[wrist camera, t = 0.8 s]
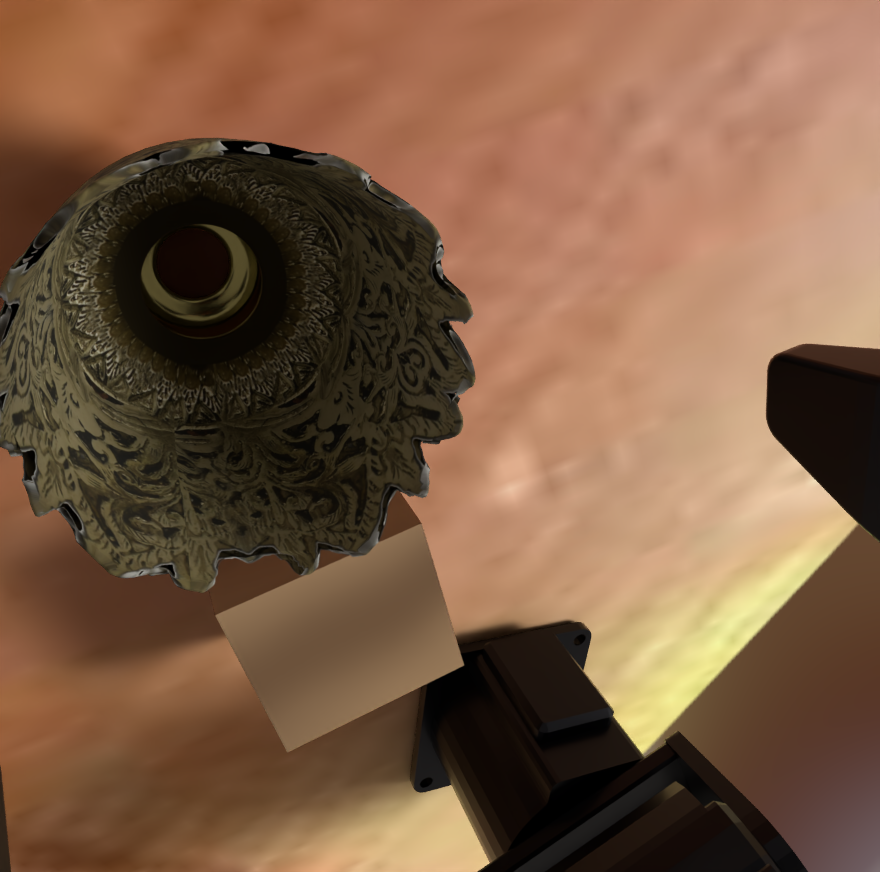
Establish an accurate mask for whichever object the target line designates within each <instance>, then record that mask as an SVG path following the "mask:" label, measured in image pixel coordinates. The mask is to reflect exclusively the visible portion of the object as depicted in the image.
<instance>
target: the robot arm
mask: <svg viewBox="0 0 880 872" xmlns="http://www.w3.org/2000/svg"><path fill="white" fill-rule="evenodd" d="M766 420H767V424H768V427H769V429H770V431H771V433H772V434H773V436H774V437H775V438H776V439H777V440H778V441H779V442H780V443H781V444H782V446H783V447H784V448H785V449H786V450H787V451H788V452H789V453H790V454H791V455H792V456H793V457H794V458H795V459H796V460H797V461H798V462H799V463H800V464H801V465H802V466H803V467H804V468H805V469H806V470H807V471H808V472H809V473H810V475H811V476H812V477H813V478H814V479H815V480H816V481H817V482H818V483H819V484H820V485H821V486H822V487H823V488H824V489H825V490H826V491H827V492H828V493H829V494H830V495H831V496H832V497H833V498H834V499H835V500H836V501H837V502H838V504H839V505H840V506H841V507H842V508H843V509H844V510H845V511H846V512H847V513H848V514H849V515H850V516H851V517H852V518H853V519H854V520H855V521H856V522H857V523H858V524H859V525H861V526H862V527H863V528H864V529H865V530H866V531H867V532H869V534H871V535H872V536H873V537H874V538H875V539H876V540H877V541H878V542H880V349H872V348H859V347H845V346H832V345H819V344H802V345H798V346H796V347H793V348H791V349H788V350H786V351H783V352H781V353H778V354H776V355H775V356H774V357H773V358H772V359H771V360H770V362H769V365H768V370H767V399H766ZM590 640H591V632H590V630H589V629H588V628H587V627H586V626H585V625H584V624H583V623H581V622H575V623H570V624H565V625H560V626H555V627H550V628H545V629H540V630H535V631H529V632H524V633H519V634H514V635H509V636H504V637H499V638H494V639H489V640H484V641H479V642H473V643H468V644H463V645H458V647H459V650H460V653H461V657H462V660H463V663H464V666H462V667H460V668H458V669H456V670H454V671H452V672H450V673H448V674H446V675H444V676H442V677H440V678H438V679H436V680H434V681H431V682H429V683H427V684H425V685H423V686H422V687H421V695H420V703H419V710H418V718H417V726H416V734H415V742H414V750H413V758H412V766H411V774H410V781H411V783H412V785H413V787H414V789H415V790H416V791H417V792H420V793H421V792H427V791H431V790H434V789H438V788H442V787H445V786H449V785H452V787H453V789H454V791H455V793H456V795H457V797H458V799H459V801H460V803H461V805H462V807H463V809H464V811H465V813H466V815H467V817H468V819H469V821H470V823H471V825H472V827H473V829H474V831H475V833H476V835H477V838H478V840H479V842H480V844H481V846H482V848H483V850H484V852H485V854H486V856H487V858H488V860H489V862H490V863H489V864H488V865H487V866H485V867H484V868H482V869H481V870H479V871H478V872H808V871H807V870H806V868H805V867H804V865H803V864H802V863H801V861H800V860H799V858H798V857H797V856H796V854H795V853H794V852H793V850H792V849H791V848H790V846H789V845H788V844H787V843H786V841H785V840H784V839H783V838H782V836H781V835H780V834H779V833H778V832H777V830H776V829H775V828H774V827H773V826H772V824H771V823H770V822H769V821H768V820H767V819H766V818H765V817H764V816H763V815H762V814H761V812H760V811H759V810H758V809H757V808H755V806H754V805H753V804H752V803H751V802H750V801H749V800H748V799H747V798H746V797H745V796H744V795H743V794H742V793H740V791H738V789H736V788H735V786H733V784H732V783H730V782H729V781H728V780H727V779H726V778H725V777H724V776H723V775H722V774H721V773H720V772H719V771H718V770H717V769H716V768H715V767H714V766H713V765H712V764H711V763H710V762H709V761H708V760H707V759H706V758H705V757H704V756H703V755H702V754H701V753H700V752H699V751H698V750H697V749H696V748H695V747H694V746H693V745H692V744H691V743H690V742H689V741H688V740H687V739H686V738H685V737H684V736H683V735H682V734H681V733H680V732H679V731H677V732H675V733H674V734H672V735H671V736H669V737H668V738H666V739H665V740H664V742H665V744H663V745H662V746H660V747H659V748H657V749H656V750H654V751H653V752H651V753H650V754H649V755H647V756H646V757H644V755H643V754H642V753H641V752H640V750H639V749H638V748H637V746H636V745H635V744H634V742H633V741H632V740H631V739H630V737H629V736H628V735H627V733H626V732H625V731H624V729H623V728H622V727H621V726H620V724H619V723H618V722H617V720H616V719H615V718H614V716H613V713H614V711H613V709H612V707H611V706H610V704H609V703H608V702H607V701H606V699H605V698H604V697H603V695H602V694H601V693H600V692H599V690H598V689H597V688H596V686H595V685H594V684H593V683H592V681H591V680H590V679H589V677H588V676H587V675H586V674H585V672H584V671H583V670H584V666H585V661H586V657H587V653H588V649H589V645H590ZM0 872H11V866H10V855H9V845H8V835H7V824H6V814H5V804H4V793H3V783H2V773H1V767H0Z"/></svg>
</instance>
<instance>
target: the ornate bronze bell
mask: <svg viewBox="0 0 880 872" xmlns="http://www.w3.org/2000/svg"><path fill="white" fill-rule="evenodd" d="M370 178H371V175H369V174H368V173H367V172H365V171H364V170H363V169H361V168H360V167H358V166H357V165H355V164H353V163H351V162H349V161H347V160H344V159H342V158H340V157H337V156H334V155H331V154H327V153H311V152H307V151H302V150H299V149H295V148H290V147H285V146H280V145H276V144H272V143H266V142H257V141H248V140H237V139H225V138H196V139H186V140H179V141H173V142H167V143H163V144H160V145H156V146H152V147H149V148H145V149H143V150H140V151H138V152H135V153H133V154H131V155H128V156H126V157H124V158H122V159H120V160H118V161H117V162H115V163H113V164H111V165H109V166H108V167H106V168H104V169H103V170H101V171H100V172H99V173H97V174H96V175H95V176H93V177H92V178H90V179H89V180H88V181H86V182H85V183H84V184H83V185H82V186H81V187H80V188H79V189H78V190H77V191H76V192H75V193H74V194H72V195H71V196H70V197H69V198H68V199H67V200H66V201H65V202H64V204H63V205H62V206H61V207H60V208H59V210H58V211H57V212H56V213H55V214H54V216H53V217H52V218H51V219H50V220H49V221H48V222H47V223H46V224H45V225H44V227H43V228H42V230H41V231H40V232H39V234H38V235H37V236H36V237H35V239H34V240H33V241H32V243H31V244H30V246H29V247H28V249H27V250H26V251H25V253H24V254H23V255H22V256H21V257H19V259H18V260H17V261H16V262H15V263H14V264H13V266H11V268H10V269H9V271H8V272H7V274H6V276H5V278H4V280H3V283H2V285H1V287H0V298H3V300H4V305H3V307H2V310H1V312H0V447H2V448H4V449H7V450H8V452H9V454H10V456H11V457H12V456H21V455H22V457H23V468H24V476H23V479H22V481H23V483H24V486H25V488H26V491H27V494H28V497H29V500H30V504H31V507H32V510H33V512H34V514H35V516H37V517H40V516H42V515H45V514H47V513H49V512H50V511H52V510H58V511H59V512H60V513H61V514H62V516H63V517H64V518H65V519H66V520H67V522H68V523H69V524H70V526H71V528H72V529H73V531H74V535H75V538H76V541H77V542H78V543H79V544H80V545H81V546H82V547H83V548H84V549H85V550H86V551H87V552H88V553H89V554H90V555H91V556H92V557H93V558H94V559H95V560H96V561H97V562H98V563H99V564H100V565H101V566H102V567H103V568H105V570H106V571H107V572H108V573H110V574H111V575H114V576H116V577H119V578H134V577H138V576H143V575H150V576H154V575H160V574H168V573H169V574H170V576H171V578H172V580H173V581H174V583H175V584H176V586H177V587H180V588H182V589H185V590H189V591H195V592H200V593H203V592H206V591H208V590H209V589H210V588H211V587H212V586H213V585H214V584H215V577H216V576H217V575H218V566H219V563H220V562H221V561H222V560H223V559H233V558H236V559H239V560H242V561H244V562H246V563H253V562H255V561H257V560H259V559H260V558H262V557H263V556H270V555H273V554H274V555H276V556H277V557H278V558H279V559H280V560H285V561H286V562H287V563H288V564H289V565H290V567H291V568H292V570H293V571H294V572H295V573H297V574H298V575H310V574H311V573H313V572H314V571H315V570H316V568H317V567H318V565H319V561H320V555H321V552H320V551H321V550H325V551H326V550H327V551H331V552H334V553H338V554H345V555H350V556H352V557H358V556H364V555H367V554H368V553H369V552H370V551H371V550H372V549H373V547H374V546H375V545H376V544H377V543H378V542H379V541H380V538H381V536H382V533H383V530H384V528H385V525H386V521H387V516H388V515H387V514H388V506H389V503H390V501H391V499H392V498H393V497H394V495H395V493H396V491H400V492H403V493H405V494H407V495H408V496H414V495H416V496H418V497H421V498H423V497H426V496H427V494H428V490H429V472H430V468H429V466H428V464H427V463H426V462H425V459H424V456H423V451H422V449H421V446H420V445H421V442H422V441H423V443H428V444H439V443H440V441H441V440H445V439H449V438H453V437H455V436H457V435H458V434H459V433H460V432H461V430H462V427H463V416H462V414H461V412H460V410H459V407H458V405H457V404H458V402H459V400H460V398H459V397H458V395H460V394H462V393H464V392H465V391H466V390H467V389H469V388H470V387H472V386H473V385H474V382H475V371H474V367H473V363H472V360H471V358H470V356H469V354H468V352H467V350H466V348H465V346H464V344H463V342H462V341H461V339H460V338H459V336H458V335H457V334H456V333H455V331H454V330H453V328H452V325H450V323H449V321H459V322H463V323H464V324H465V323H467V322H468V320H469V319H470V318H471V317H473V312H472V308H471V305H470V303H469V301H468V299H467V297H466V295H465V294H464V293H462V292H461V291H460V290H459V289H458V288H457V287H456V286H454V285H453V284H452V283H451V282H450V281H449V280H448V279H447V278H446V276H445V275H444V274H443V269H442V267H441V258H442V257H443V254H444V249H443V244H442V241H441V237H440V235H439V233H438V231H437V229H436V228H435V226H434V225H433V224H432V223H431V222H430V221H429V220H428V219H427V218H426V217H425V216H423V215H422V214H421V213H420V212H419V211H418V210H416V209H415V208H414V207H413V206H411V205H410V204H409V203H407V202H406V201H404V200H403V199H401V198H400V197H398V196H396V195H395V194H393V193H391V192H390V191H388V190H387V189H385V188H383V187H382V186H381V185H379V184H378V183H376V182H375V181H373V180H371V179H370ZM185 229H199V230H203V231H206V232H208V233H210V234H212V235H213V236H215V237H216V238H217V239H218V240H219V241H220V242H221V243H222V244H223V246H224V247H225V249H226V251H227V254H228V258H229V271H228V275H227V278H226V280H225V281H224V283H223V284H222V286H221V287H220V288H219V289H218V290H216V291H215V292H213V293H212V294H210V295H207V296H204V297H200V298H189V297H184V296H181V295H179V294H176V293H175V292H173V291H172V290H170V289H169V288H168V287H167V286H166V285H165V284H164V282H163V281H162V279H161V277H160V275H159V272H158V268H157V256H158V252H159V250H160V248H161V246H162V244H163V243H164V241H165V240H166V239H167V238H168V237H170V236H171V235H172V234H174V233H176V232H178V231H181V230H185ZM455 393H456V395H455ZM220 559H222V560H220ZM219 560H220V561H219ZM218 561H219V562H218ZM217 563H218V564H217ZM216 565H217V566H216Z"/></svg>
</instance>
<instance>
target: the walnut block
mask: <svg viewBox="0 0 880 872" xmlns="http://www.w3.org/2000/svg"><path fill="white" fill-rule="evenodd" d="M387 515H388V516H387V521H386V525H385V528H384V530H383V533H382V536H381V538H380V541H379V542H378V543H377V544H376V545H375V546H374V547H373V549H372V550H371V551H370V552H369V553H368V554H367V555H364V556H358V557H352V556H350V555H345V554H338V553H334V552H331V551H327V550H326V551H325V550H321V551H320V552H321V555H320V561H319V565H318V567H317V568H316V570H315V571H314V572H313V573H311V574H310V575H298V574H297V573H295V572H294V571H293V570H292V568H291V567H290V565H289V564H288V563H287V562H286V561H285V560H280V559H279V558H278V557H277V556H276V555H274V554H273V555H270V556H263V557H262V558H260V559H259V560H257V561H255V562H253V563H246V562H244V561H242V560H239V559H236V558H233V559H223V560H222V559H220V560H222V561H221V562H220V563H219V566H218V575H217V576H216V577H215V584H214V585H213V586H212V587H211V588H210V589H209V593H210V597H211V601H212V605H213V609H214V613H215V616H216V618H217V620H218V622H219V624H220V626H221V628H222V630H223V631H224V633H225V635H226V637H227V639H228V641H229V643H230V645H231V647H232V649H233V650H234V652H235V654H236V656H237V658H238V660H239V662H240V664H241V666H242V667H243V669H244V671H245V673H246V675H247V677H248V679H249V681H250V683H251V685H252V686H253V688H254V690H255V692H256V694H257V696H258V698H259V700H260V702H261V703H262V705H263V707H264V709H265V711H266V713H267V715H268V717H269V719H270V721H271V722H272V724H273V726H274V728H275V730H276V732H277V734H278V736H279V738H280V739H281V741H282V743H283V745H284V747H285V749H286V751H287V753H288V752H290V751H292V750H294V749H296V748H298V747H300V746H302V745H304V744H306V743H308V742H310V741H312V740H314V739H316V738H318V737H320V736H322V735H324V734H326V733H328V732H330V731H332V730H334V729H336V728H338V727H340V726H342V725H344V724H346V723H348V722H350V721H353V720H355V719H357V718H359V717H361V716H363V715H365V714H367V713H369V712H371V711H373V710H375V709H377V708H379V707H381V706H383V705H385V704H387V703H389V702H391V701H393V700H395V699H397V698H399V697H401V696H403V695H405V694H407V693H409V692H411V691H413V690H415V689H417V688H419V687H421V686H423V685H425V684H427V683H429V682H431V681H434V680H436V679H438V678H440V677H442V676H444V675H446V674H448V673H450V672H452V671H454V670H456V669H458V668H460V667H462V666H464V663H463V660H462V657H461V653H460V650H459V647H458V643H457V640H456V637H455V633H454V630H453V627H452V623H451V620H450V617H449V613H448V610H447V607H446V603H445V600H444V597H443V593H442V590H441V587H440V583H439V580H438V577H437V573H436V570H435V567H434V563H433V560H432V557H431V553H430V550H429V547H428V543H427V540H426V537H425V533H424V530H423V527H422V523H421V522H420V520H419V519H418V517H417V516H416V515H415V513H414V512H413V510H412V509H411V507H410V506H409V504H408V503H407V501H406V500H405V498H404V497H403V496H402V494H401V493H400V491H396V493H395V495H394V497H393V498H392V499H391V501H390V503H389V506H388V514H387ZM220 560H219V561H220ZM219 561H218V562H219ZM217 564H218V563H217ZM216 566H217V565H216Z"/></svg>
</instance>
